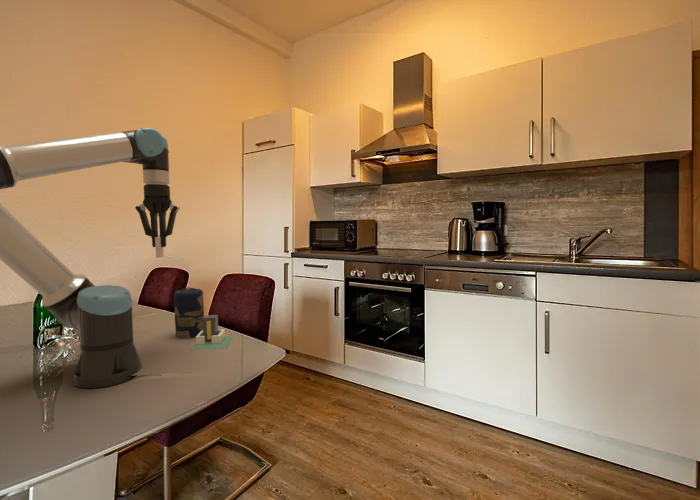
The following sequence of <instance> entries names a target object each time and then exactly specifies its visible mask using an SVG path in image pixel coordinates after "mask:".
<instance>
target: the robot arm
mask: <svg viewBox="0 0 700 500" xmlns="http://www.w3.org/2000/svg"><path fill="white" fill-rule="evenodd" d="M169 153H170V151H169V144H168V139H167V138H166V137H165V136H163V135H162V134H161V133H160V132H159V131H158V130H157V129H155V128H152V127H149V126H148V127H141V128H138V129H133V130H126V131H125V130H124V131H117V132H116V131H115V132H109V133H100V134H91V135H83V136H76V137H69V138H60V139H59V138H57V139H51V140H50V139H49V140H42V141H41V140H40V141H35V142H26V143H19V144H18V143H17V144H10V145H7V144H6V145H1V144H0V190H4V189H9V188H14V187H16V185H17V183H18V182H19V181H25V180H31V179H37V178H42V177H46V176H47V177H48V176H51V175H53V176H54V175H57V174H64V173H69V172H74V171H80V170H84V169H90V168H95V167H100V166H105V165H111V164H116V163H128V164H129V163H130V164H137V165H141V166H142V179H143V184H144V185H143V196H144V197H143V200H142V203H141V204H140V205H136V206H135V210H136V212H137V213H138V215H139V218H140V220H141V225H142V227H143V230H144V233H145V236H149V237H150V238H151V246H152V248H154V249H155V258H164V256H165V255H164V248H166V247H167V237H169V236H172V235H173V231H174V227H175V226H174V225H175V221H176V218H177V217H176V216H177V213H178V212H179V210H180V206H178V205H176V204H174V203H173V202H172V200H171V187H170V186H169V184H170V163H169V162H170V160H169ZM146 210H147V211H148V212H149V217H150V221H149V218H148V215H147V212H146ZM168 210H170V212H169V215H168V216H169V217H168V221H167V222H166V217H167V211H168ZM158 222H159V223H158ZM158 224H159V225H158ZM158 226H159V227H158ZM158 229H159V230H158ZM0 261H1V262H3V263H4V264H5V265H6V266H8V268H10V269H11V270H12V271H13V272H14V273H15V274H17V275H18V277H20V278H21V279H22V280H24V281H25V282H26V284H28V285H29V286H31V288H33V289H34V290H35V291H36V292H37V293H39V294H40V295H41V296H42V301H41V304H42V306H43V307H44V308H46V309H47V310H48V311H49V312H50V313H51V314H52V315H53V317H54V319H55V320H56V322H58V323H59V324H60V325H62V326H64V327H66V328H69V329H74V330H77V331H78V332H79V343H80V353H79V356H78V359H77V362H76V366H75V369H74V371H73V375H72V376H73V377H72V378H73V385H74V386H75V387H77V388H83V389H93V388H94V389H97V388H104V387H110V386H114V385H117V384H122V383H124V382H127V381H129V380H132V379H134V378H136V377H137V376H138V374H136V373H139V371H141V369H142V368H143V362H142V360H141V357H140V354H139V353H138V350H137V348H136V346H135V344H134V327H133V323H134V322H133V299H132V295H131V294H132V293H131V291H130V290H129V289H128V288H126V287H124V286H121V285H108V284H107V285H105V284H104V285H103V284H102V285H95V284H94V283H93V282H91V281H90V279H88V277H86V275H85V274H75V273H73V272H72V271H71V270H70V268H68V267H67V266H66V264H64V263H63V262H62V261H61V260H60V259H58V257H57V256H56V255H54V253H53V252H51V251H50V249H48V248H47V247H46V245H44V244H43V242H41V241H40V240H39V239H38V238H37V237H36V236H35V235H34V234H32V232H30V230H29V229H27V228H26V227H25V226H24V225H23V224H22V223H21V222H20V221H19V220H18V219H17V218H16V217H15V216H14V215H13V214H12V213H11V212H9V210H7V208H5V207H4V206H3V205H2V203H0Z"/></svg>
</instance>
